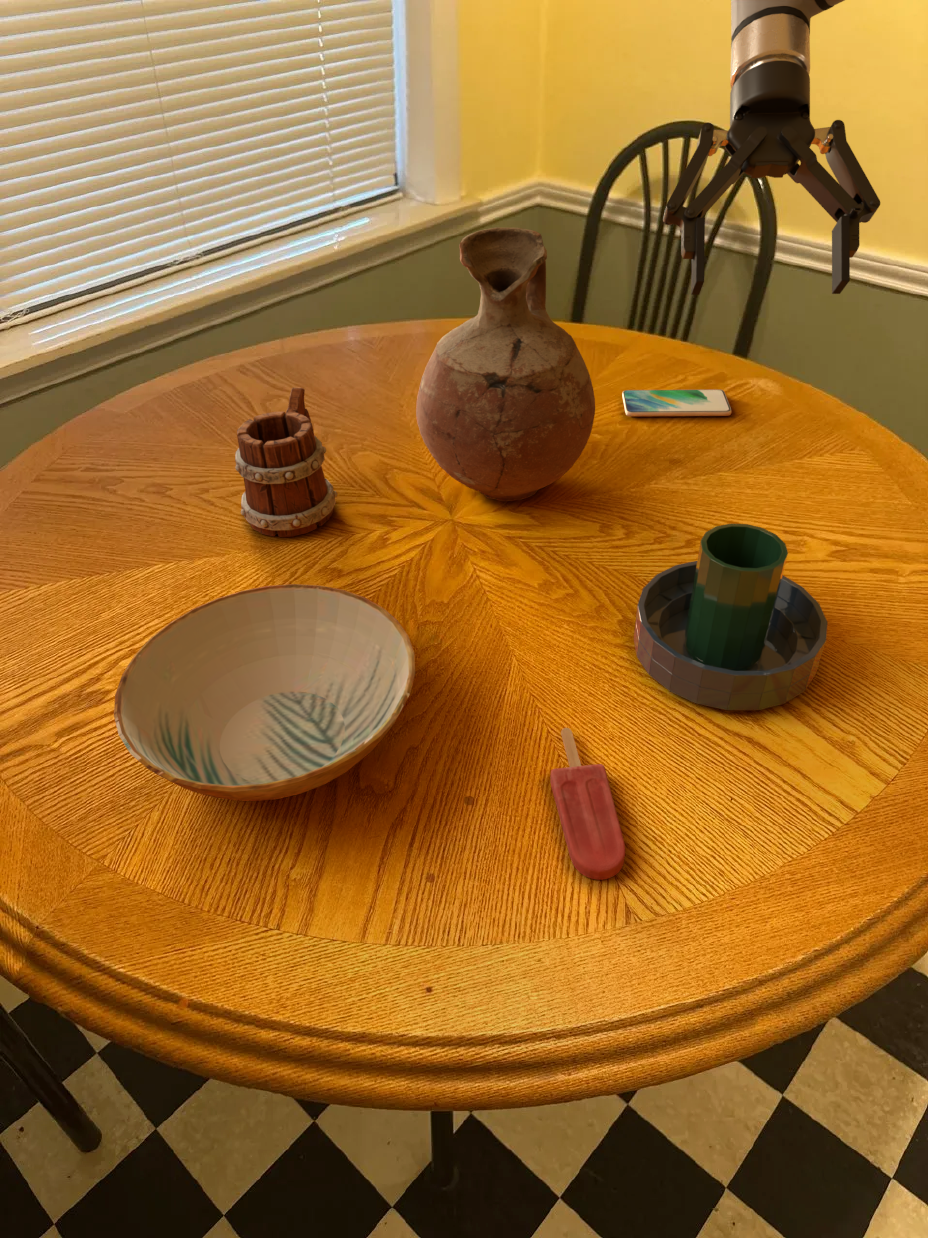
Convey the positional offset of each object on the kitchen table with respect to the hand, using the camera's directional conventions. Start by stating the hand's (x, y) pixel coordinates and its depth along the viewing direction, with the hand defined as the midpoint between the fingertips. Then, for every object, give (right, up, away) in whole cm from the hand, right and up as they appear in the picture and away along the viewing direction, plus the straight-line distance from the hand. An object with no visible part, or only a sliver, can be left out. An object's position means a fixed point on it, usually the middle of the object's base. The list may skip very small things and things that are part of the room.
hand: (768, 288), depth 84 cm
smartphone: (+1, -1, +42) cm, 42 cm away
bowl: (-46, -43, -6) cm, 63 cm away
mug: (-51, -18, +24) cm, 60 cm away
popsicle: (-20, -48, -13) cm, 53 cm away
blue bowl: (-4, -36, +1) cm, 36 cm away
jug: (-24, -15, +27) cm, 39 cm away
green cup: (-4, -35, 0) cm, 35 cm away
